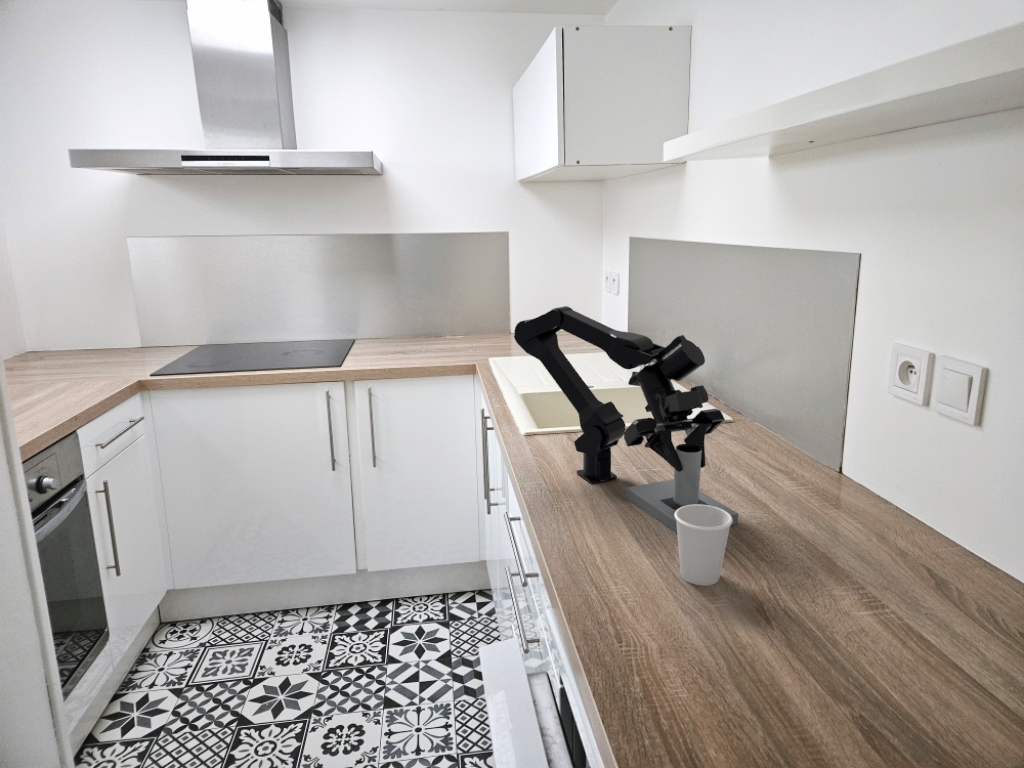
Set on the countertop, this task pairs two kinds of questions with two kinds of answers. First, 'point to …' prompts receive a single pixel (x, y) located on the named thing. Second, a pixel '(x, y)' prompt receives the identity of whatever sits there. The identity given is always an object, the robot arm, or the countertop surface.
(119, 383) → the countertop surface
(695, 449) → the gray tube
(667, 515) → the socket board
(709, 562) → the dixie cup
